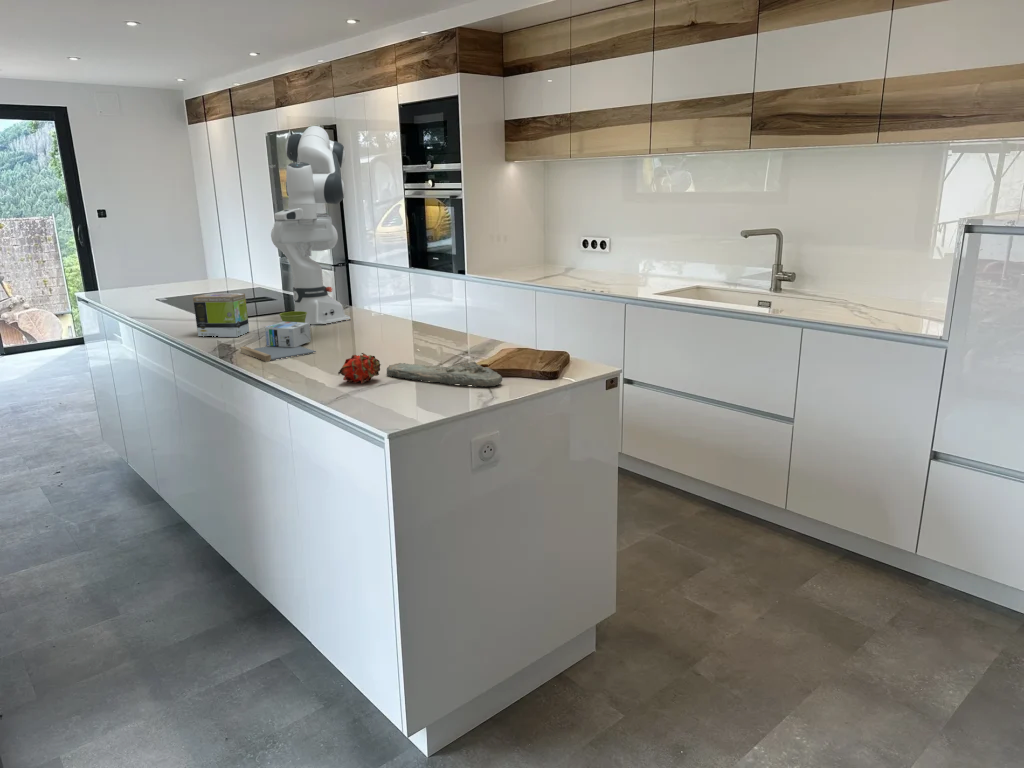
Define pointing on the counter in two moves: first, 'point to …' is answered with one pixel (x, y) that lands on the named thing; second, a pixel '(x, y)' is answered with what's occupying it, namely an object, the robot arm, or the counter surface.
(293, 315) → the plant pot
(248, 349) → the strip
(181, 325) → the counter surface
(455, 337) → the counter surface
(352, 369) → the dragon fruit
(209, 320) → the tea box
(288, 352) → the mat
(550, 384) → the counter surface
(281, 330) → the light bulb box
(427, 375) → the elongated rock
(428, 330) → the counter surface
